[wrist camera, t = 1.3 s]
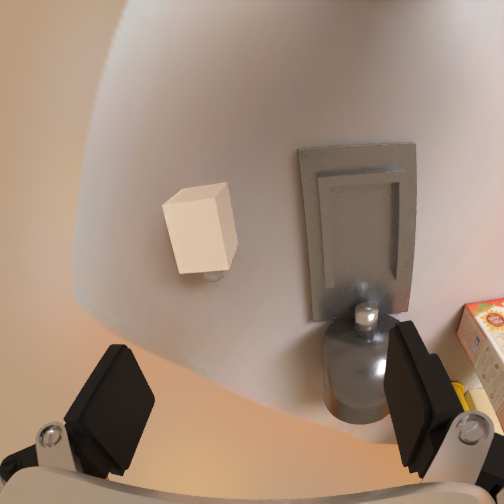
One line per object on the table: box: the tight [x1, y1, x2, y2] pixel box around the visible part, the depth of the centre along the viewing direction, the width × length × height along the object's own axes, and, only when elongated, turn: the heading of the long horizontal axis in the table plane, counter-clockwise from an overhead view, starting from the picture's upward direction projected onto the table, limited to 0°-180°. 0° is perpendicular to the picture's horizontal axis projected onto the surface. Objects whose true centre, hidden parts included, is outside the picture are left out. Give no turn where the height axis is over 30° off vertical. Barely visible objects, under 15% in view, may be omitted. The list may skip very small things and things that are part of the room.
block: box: [162, 182, 238, 282], centre depth 32 cm, size 9×5×6 cm, turn 9°
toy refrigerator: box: [464, 388, 504, 435], centre depth 34 cm, size 8×7×21 cm
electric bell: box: [298, 143, 417, 424], centre depth 31 cm, size 30×12×10 cm, turn 9°
